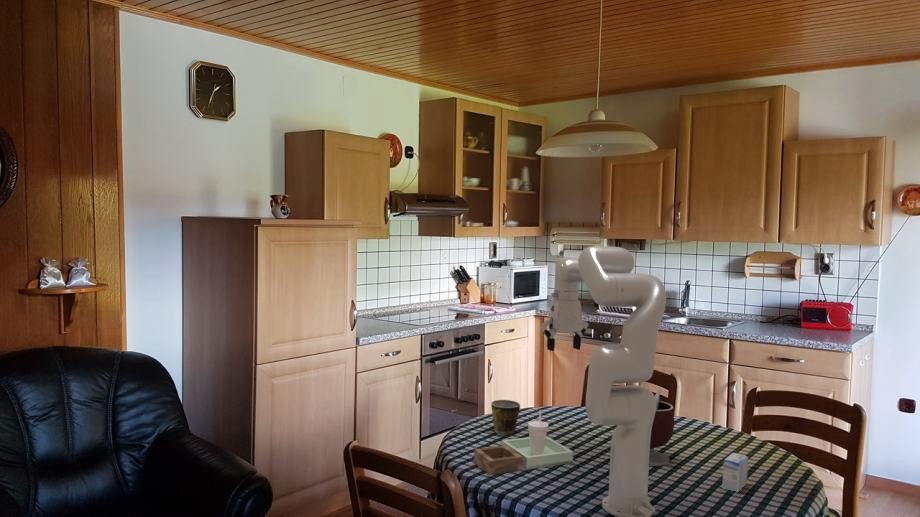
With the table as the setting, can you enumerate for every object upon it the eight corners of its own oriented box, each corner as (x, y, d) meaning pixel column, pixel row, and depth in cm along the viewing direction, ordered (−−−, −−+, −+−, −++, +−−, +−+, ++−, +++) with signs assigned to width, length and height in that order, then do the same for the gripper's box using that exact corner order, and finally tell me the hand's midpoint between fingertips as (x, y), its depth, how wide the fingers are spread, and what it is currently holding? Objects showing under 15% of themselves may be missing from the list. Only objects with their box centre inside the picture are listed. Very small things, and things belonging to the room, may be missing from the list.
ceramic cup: (496, 425, 230) (497, 398, 229) (523, 430, 226) (524, 402, 225) (482, 436, 218) (483, 406, 218) (509, 441, 214) (510, 411, 213)
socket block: (522, 470, 188) (522, 457, 188) (489, 475, 184) (490, 461, 184) (505, 458, 198) (505, 445, 198) (473, 462, 193) (474, 449, 193)
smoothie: (546, 459, 196) (548, 413, 195) (525, 457, 197) (527, 411, 196) (548, 452, 202) (549, 408, 201) (527, 450, 203) (529, 406, 203)
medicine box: (730, 481, 185) (732, 452, 185) (746, 486, 182) (748, 455, 182) (721, 489, 179) (723, 459, 179) (738, 494, 176) (740, 463, 176)
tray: (572, 463, 196) (573, 451, 195) (526, 469, 189) (527, 457, 189) (544, 446, 210) (545, 435, 210) (501, 451, 204) (501, 440, 203)
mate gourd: (665, 470, 192) (668, 404, 191) (620, 460, 200) (622, 396, 199) (678, 455, 205) (681, 393, 204) (635, 446, 213) (638, 386, 212)
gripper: (549, 298, 198) (546, 353, 199) (595, 297, 205) (593, 350, 206) (536, 295, 205) (534, 348, 206) (581, 294, 212) (579, 346, 213)
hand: (563, 349), depth 206 cm, fingers open, 9 cm apart
